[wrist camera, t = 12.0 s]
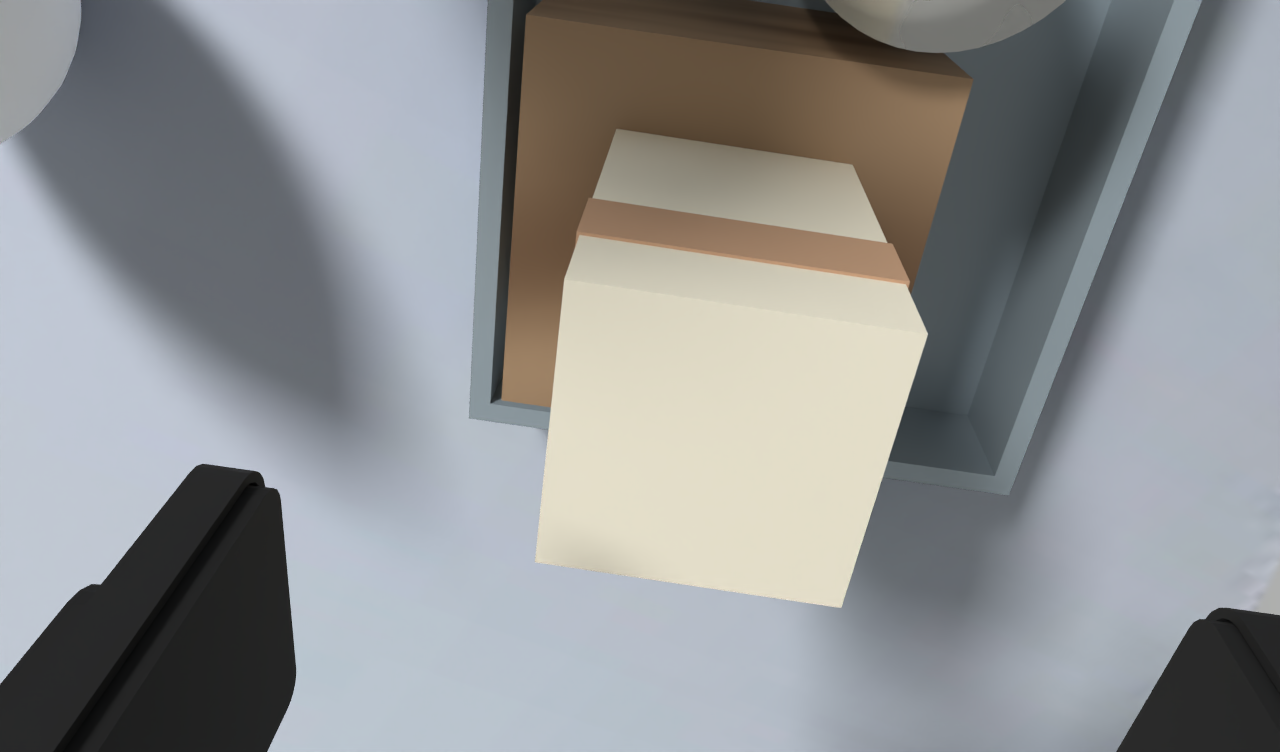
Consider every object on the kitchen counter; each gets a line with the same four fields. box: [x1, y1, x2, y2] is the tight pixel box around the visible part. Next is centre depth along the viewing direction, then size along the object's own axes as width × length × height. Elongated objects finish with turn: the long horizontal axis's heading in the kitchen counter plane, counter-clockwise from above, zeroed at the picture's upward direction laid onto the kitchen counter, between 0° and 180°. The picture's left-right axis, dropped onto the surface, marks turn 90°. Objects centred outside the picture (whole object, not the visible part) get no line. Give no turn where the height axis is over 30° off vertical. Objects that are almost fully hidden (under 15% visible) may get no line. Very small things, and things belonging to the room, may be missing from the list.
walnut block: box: [501, 0, 974, 407], centre depth 24 cm, size 9×9×7 cm
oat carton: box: [535, 129, 928, 608], centre depth 18 cm, size 5×5×8 cm
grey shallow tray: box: [469, 0, 1202, 496], centre depth 25 cm, size 20×16×4 cm
